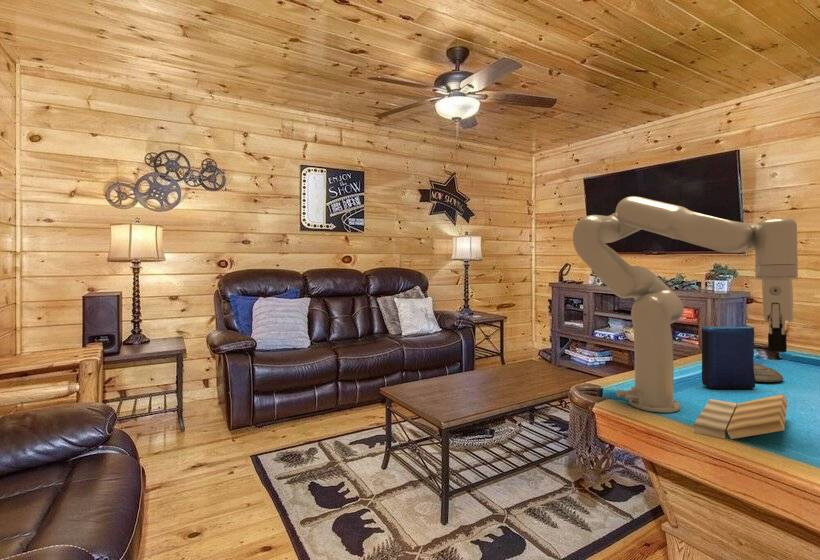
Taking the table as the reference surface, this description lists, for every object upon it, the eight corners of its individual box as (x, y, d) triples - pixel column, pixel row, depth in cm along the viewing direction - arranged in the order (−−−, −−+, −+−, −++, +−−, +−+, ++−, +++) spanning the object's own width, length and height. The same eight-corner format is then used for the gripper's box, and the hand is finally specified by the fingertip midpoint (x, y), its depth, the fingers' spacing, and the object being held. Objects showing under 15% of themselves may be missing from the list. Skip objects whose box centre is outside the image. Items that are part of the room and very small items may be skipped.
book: (747, 385, 138) (747, 323, 137) (759, 390, 132) (759, 326, 132) (699, 385, 139) (699, 324, 138) (709, 390, 134) (709, 326, 133)
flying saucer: (728, 371, 157) (728, 356, 156) (782, 377, 147) (782, 361, 147) (725, 380, 145) (725, 364, 145) (784, 388, 135) (784, 370, 135)
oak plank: (784, 430, 91) (778, 420, 92) (731, 439, 97) (726, 430, 98) (787, 401, 109) (783, 394, 109) (742, 410, 115) (738, 403, 116)
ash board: (724, 438, 98) (724, 429, 98) (693, 432, 102) (693, 423, 102) (736, 410, 116) (736, 403, 116) (710, 406, 120) (709, 398, 120)
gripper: (797, 273, 92) (798, 358, 92) (798, 271, 103) (799, 347, 103) (752, 274, 97) (754, 354, 97) (757, 272, 108) (759, 344, 108)
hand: (777, 351), depth 100 cm, fingers closed
